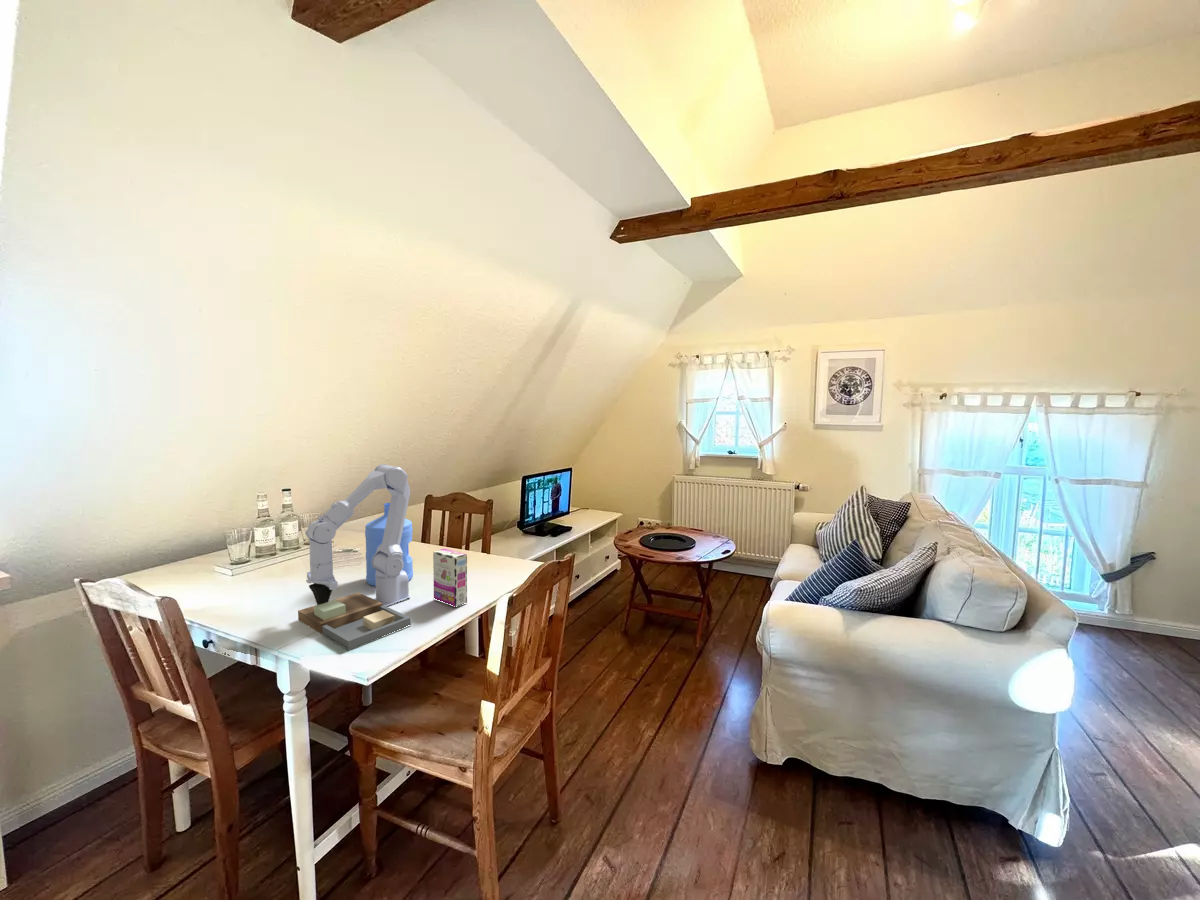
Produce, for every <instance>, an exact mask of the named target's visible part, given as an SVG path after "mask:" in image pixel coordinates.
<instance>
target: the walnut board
mask: <svg viewBox="0 0 1200 900" xmlns="http://www.w3.org/2000/svg"><path fill="white" fill-rule="evenodd" d="M333 600H337V601H339V602H341V603H343V604H345V605H346V613H345V614H342V615H339V616H336V617H333V618H330V619H327V620H323V619H321V618H319V617H317V616H316V615H314V606H316V605H317V604H315V605H313V606H312V605H311V606H308V607H305V608H302V609H299V610H297V615H298V616H297V617H298V618H297V619H298V620H299V622H300V623H302V624H303V623H304V624H303V625H305V626H307V627H308V626H309V629H312V630H314V631H315V632H317V633H319V634H320V635H322V626H324V625H328V626H330V627H332V628H334V629H335V628H338V627H340V626H343V625H346V624H349V623H352V622H355V621H358V620H360V619H363V617H364V616H367V615H370V614H373V613H376V612H379V611H380V606H383V603H381V602H379V601H376V600H374V598H372V597H369V596H367V595H365V594H363V593H361V592H355V593H352V594H349V595H346V596H342V597H339V598H335V599H333ZM333 600H329V602H330V601H333ZM298 620H297V621H298Z"/></svg>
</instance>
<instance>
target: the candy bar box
mask: <svg viewBox="0 0 1200 900" xmlns="http://www.w3.org/2000/svg"><path fill="white" fill-rule="evenodd" d="M432 555H433V557H432V559H433V567H432V568H433V599H434V598H435V599H437V600H440V601H443V602H445V603H448V604H451V605H453V606H455V607H456V606H459V605H462V604H464V603H467V604H468V577H467V576H468V554H467V553H462V552H459V551H455V550H451V549H448V548H443V549H439V550H438V549H437V550H434V551H433V554H432ZM464 605H465V604H464ZM462 606H463V605H462ZM455 607H454V608H455ZM459 607H460V606H459Z"/></svg>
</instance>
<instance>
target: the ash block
mask: <svg viewBox="0 0 1200 900" xmlns="http://www.w3.org/2000/svg"><path fill="white" fill-rule="evenodd" d="M392 622H395V617H394V615H392V614H390V613H388V612H386V611H384V610H382V611H379V612H376V613H373V614H370V615H367V616H364V617H363V625H364V626H366V627H367V628H369V629H371V630H374V629H376V628H379V627H382V626H384V625H387V624H390V623H392Z"/></svg>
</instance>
